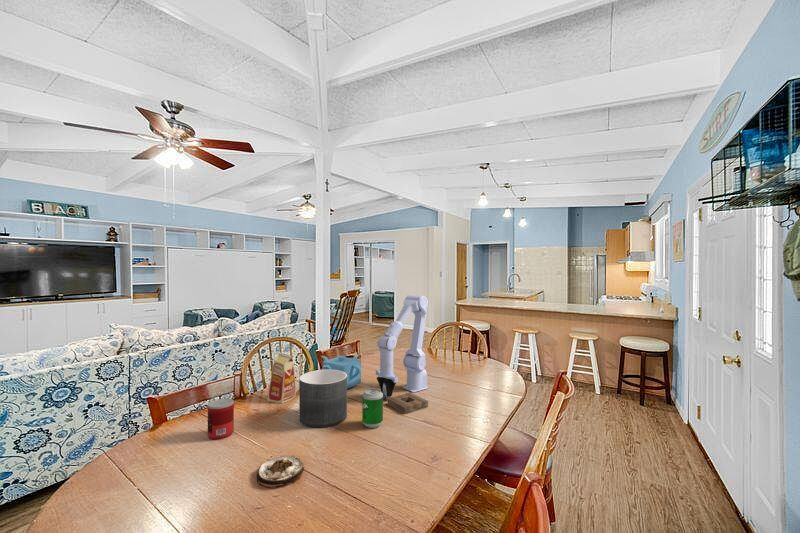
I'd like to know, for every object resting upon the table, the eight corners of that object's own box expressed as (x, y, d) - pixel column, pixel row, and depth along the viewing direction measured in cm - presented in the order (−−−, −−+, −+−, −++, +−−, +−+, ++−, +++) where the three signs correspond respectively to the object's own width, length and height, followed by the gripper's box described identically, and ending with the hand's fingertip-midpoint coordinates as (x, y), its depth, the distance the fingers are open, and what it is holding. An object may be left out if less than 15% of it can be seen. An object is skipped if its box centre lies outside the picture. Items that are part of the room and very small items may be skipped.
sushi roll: (248, 498, 88) (248, 481, 88) (254, 465, 103) (255, 451, 103) (309, 487, 92) (309, 471, 92) (307, 457, 107) (307, 444, 107)
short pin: (371, 396, 156) (371, 387, 156) (376, 398, 154) (376, 389, 154) (365, 398, 154) (365, 388, 154) (369, 400, 152) (369, 391, 152)
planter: (290, 418, 134) (290, 376, 134) (328, 404, 147) (329, 366, 147) (316, 433, 122) (317, 387, 122) (356, 417, 135) (356, 376, 135)
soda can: (384, 420, 132) (384, 388, 132) (381, 429, 124) (381, 395, 124) (364, 419, 133) (364, 387, 133) (360, 428, 125) (360, 394, 125)
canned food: (238, 431, 123) (238, 399, 123) (220, 442, 115) (220, 408, 115) (221, 427, 125) (221, 396, 125) (202, 438, 118) (202, 405, 118)
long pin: (387, 397, 155) (387, 381, 155) (392, 399, 153) (392, 383, 153) (381, 398, 153) (381, 382, 153) (385, 401, 151) (385, 385, 151)
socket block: (409, 398, 154) (409, 392, 154) (428, 406, 145) (428, 400, 145) (387, 404, 147) (387, 398, 147) (405, 414, 138) (405, 407, 138)
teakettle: (363, 392, 161) (363, 360, 161) (321, 395, 157) (321, 362, 157) (358, 379, 179) (358, 350, 179) (320, 382, 175) (321, 352, 175)
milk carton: (267, 400, 150) (267, 354, 150) (282, 393, 159) (282, 349, 159) (284, 404, 147) (284, 356, 147) (298, 396, 155) (298, 351, 155)
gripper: (370, 361, 156) (369, 391, 156) (388, 369, 145) (388, 402, 145) (383, 358, 161) (383, 388, 161) (402, 366, 149) (402, 398, 149)
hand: (386, 394), depth 153 cm, fingers open, 4 cm apart
